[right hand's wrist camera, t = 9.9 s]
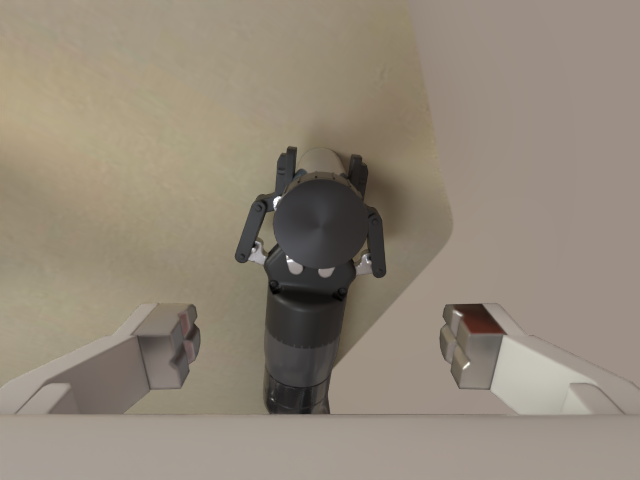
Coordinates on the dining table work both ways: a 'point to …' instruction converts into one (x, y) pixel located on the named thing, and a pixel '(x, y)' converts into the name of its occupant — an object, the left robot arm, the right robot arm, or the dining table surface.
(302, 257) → the lid
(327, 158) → the bottle
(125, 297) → the dining table surface
